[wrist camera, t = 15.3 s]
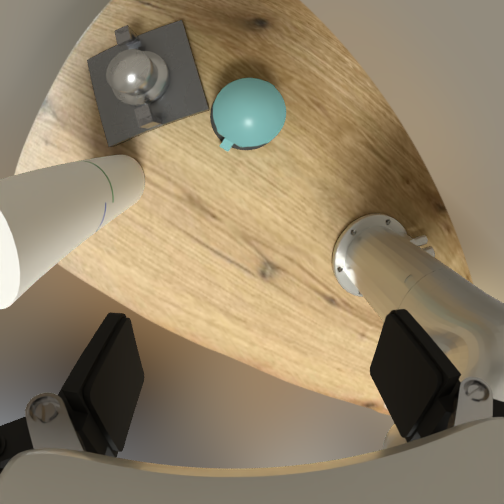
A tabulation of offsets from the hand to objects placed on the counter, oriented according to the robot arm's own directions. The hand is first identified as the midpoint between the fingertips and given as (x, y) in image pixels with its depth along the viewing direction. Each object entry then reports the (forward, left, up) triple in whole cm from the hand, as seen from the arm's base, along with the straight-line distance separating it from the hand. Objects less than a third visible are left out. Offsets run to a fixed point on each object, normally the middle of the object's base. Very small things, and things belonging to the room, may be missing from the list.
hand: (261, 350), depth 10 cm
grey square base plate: (+7, -18, -28) cm, 34 cm away
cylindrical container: (+14, -7, -28) cm, 32 cm away
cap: (-4, -10, -27) cm, 29 cm away
